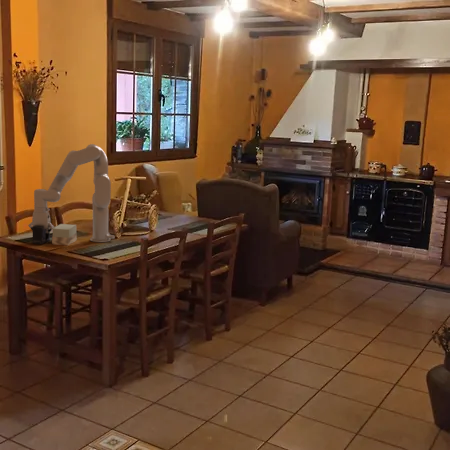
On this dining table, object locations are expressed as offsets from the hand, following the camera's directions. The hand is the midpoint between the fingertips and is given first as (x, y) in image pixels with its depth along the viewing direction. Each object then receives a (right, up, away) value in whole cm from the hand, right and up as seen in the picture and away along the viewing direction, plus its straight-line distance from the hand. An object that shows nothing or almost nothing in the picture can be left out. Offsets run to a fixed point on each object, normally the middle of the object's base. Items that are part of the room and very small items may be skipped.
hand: (41, 238), depth 360 cm
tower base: (+13, -3, +3) cm, 14 cm away
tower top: (+14, +2, +2) cm, 14 cm away
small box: (0, -2, +1) cm, 2 cm away
